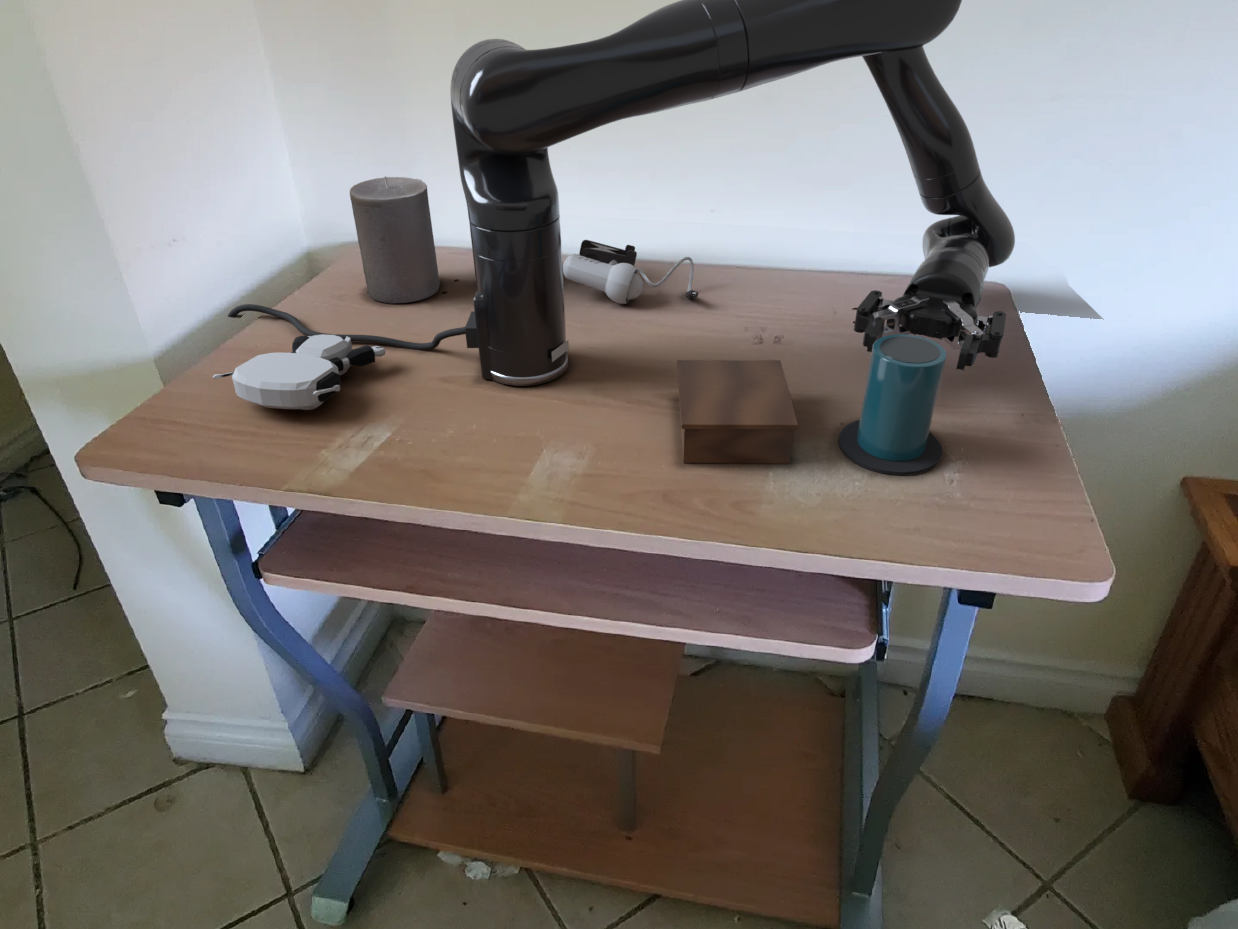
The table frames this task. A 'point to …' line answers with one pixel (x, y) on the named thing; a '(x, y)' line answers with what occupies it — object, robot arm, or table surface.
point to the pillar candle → (395, 239)
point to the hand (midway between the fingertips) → (916, 352)
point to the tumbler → (900, 396)
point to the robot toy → (300, 372)
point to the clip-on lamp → (613, 271)
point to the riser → (735, 411)
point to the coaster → (885, 466)
